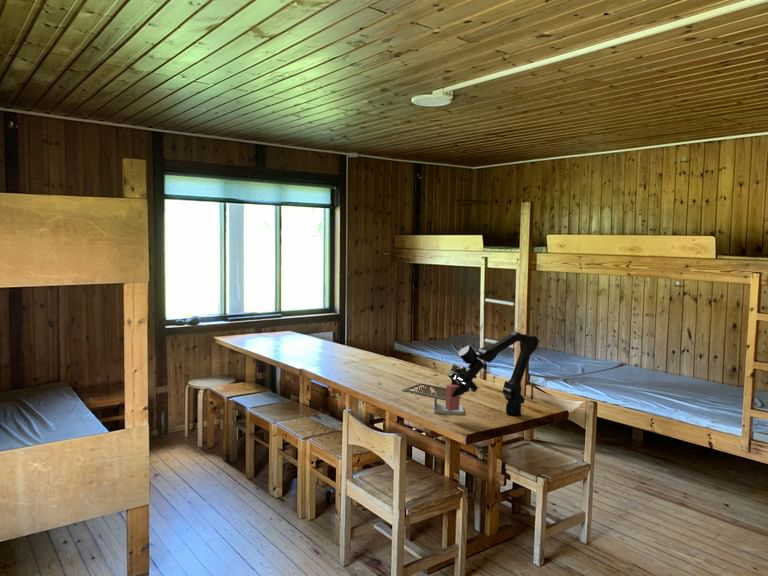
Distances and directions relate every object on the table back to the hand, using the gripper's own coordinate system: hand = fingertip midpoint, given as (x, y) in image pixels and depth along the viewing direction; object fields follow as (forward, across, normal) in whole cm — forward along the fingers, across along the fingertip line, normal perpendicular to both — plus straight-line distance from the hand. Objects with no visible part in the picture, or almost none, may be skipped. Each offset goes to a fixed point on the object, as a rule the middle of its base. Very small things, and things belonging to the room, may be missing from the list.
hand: (450, 395), depth 260 cm
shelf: (+3, -14, +13) cm, 20 cm away
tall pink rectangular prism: (+4, 0, +6) cm, 7 cm away
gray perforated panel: (-3, -45, +20) cm, 49 cm away
